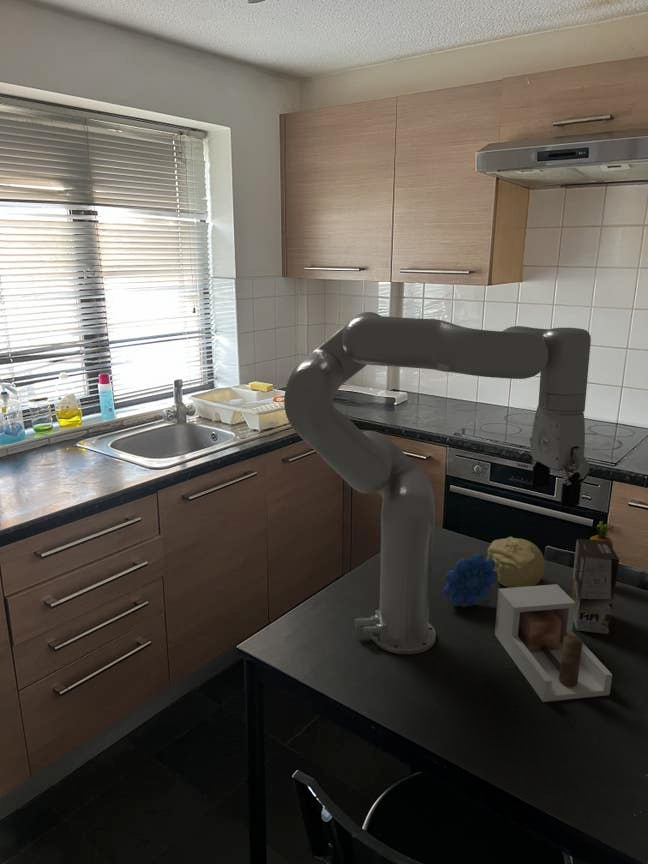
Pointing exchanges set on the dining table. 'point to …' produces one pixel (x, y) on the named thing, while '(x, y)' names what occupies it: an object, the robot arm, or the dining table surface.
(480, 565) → the grapes
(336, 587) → the dining table surface
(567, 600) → the shelf lane
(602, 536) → the carrot
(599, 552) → the coffee box
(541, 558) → the sculpture
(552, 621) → the wooden mallet
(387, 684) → the dining table surface
